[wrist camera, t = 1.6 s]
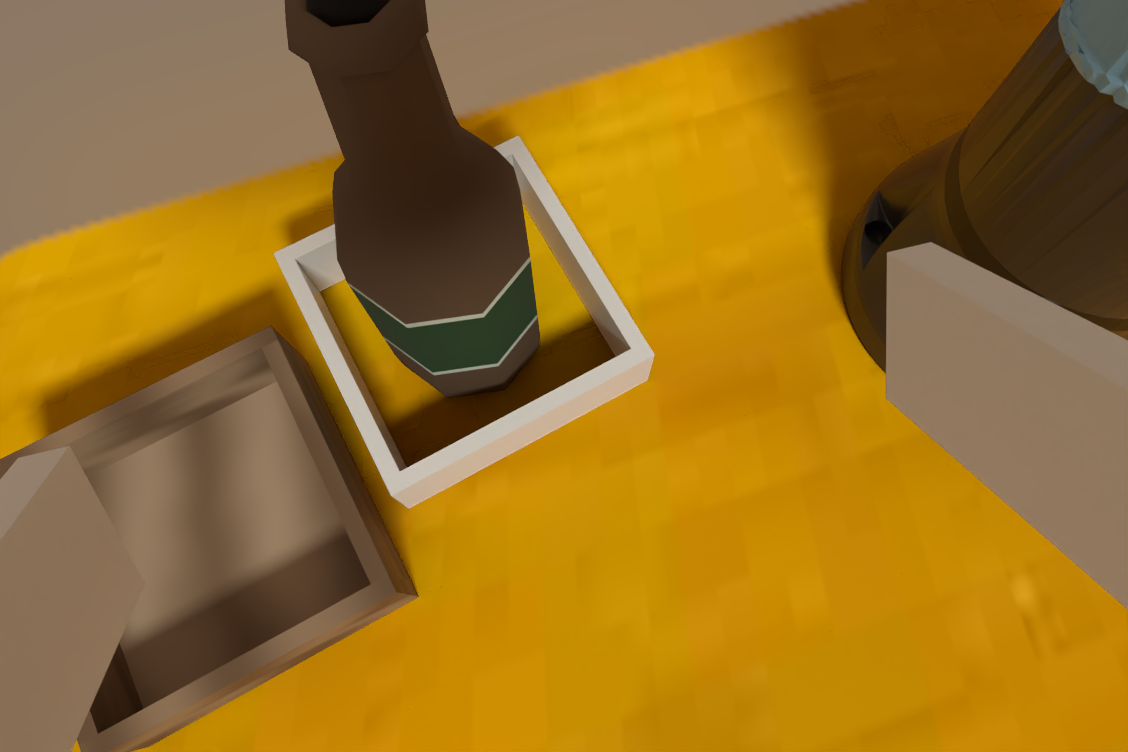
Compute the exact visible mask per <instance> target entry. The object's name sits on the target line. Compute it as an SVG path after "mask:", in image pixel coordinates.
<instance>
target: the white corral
mask: <svg viewBox="0 0 1128 752" xmlns="http://www.w3.org/2000/svg"><path fill="white" fill-rule="evenodd" d="M493 148H494V149H496V150H497V151H498V152H499V153H500V154H501V155H502V156H503V157H504V158H505V159H506V160H507V161H508V162H509V163H510V164H511V165H512V166H513V167H514V169H515V173H516V177H517V180H518V184H519V187H520V192H521V199H522V203H523V204H524V206H525V208H526V209H527V211H528V213H529V214H530V216H531V217H532V219H533V221H534V222H535V224H536V226H537V227H538V229H539V231H540V232H541V234H542V236H543V237H544V239H545V241H546V242H547V244H548V246H549V247H550V249H551V251H552V252H553V254H554V256H555V257H556V259H557V261H558V262H559V264H560V266H561V267H562V269H563V271H564V272H565V274H566V276H567V277H568V279H569V280H570V282H571V284H572V285H573V287H574V289H575V290H576V292H577V294H578V295H579V297H580V299H581V300H582V302H583V304H584V305H585V307H586V309H587V310H588V312H589V314H590V315H591V317H592V319H593V320H594V322H595V324H596V325H597V327H598V329H599V330H600V332H601V334H602V335H603V337H604V339H605V340H606V342H607V343H608V345H609V347H610V348H611V350H612V352H613V353H614V355H615V358H613V359H611V360H609V361H607V362H605V363H603V364H602V365H600V366H598V367H596V368H594V369H592V370H590V371H588V372H587V373H585V374H583V375H581V376H579V377H577V378H575V379H573V380H571V381H570V382H568V383H566V384H564V385H562V386H560V387H558V388H556V389H555V390H553V391H551V392H549V393H547V394H545V395H543V396H541V397H539V398H538V399H536V400H534V401H532V402H530V403H528V404H526V405H524V406H523V407H521V408H519V409H517V410H515V411H513V412H511V413H509V414H507V415H506V416H504V417H502V418H500V419H498V420H496V421H494V422H492V423H490V424H489V425H487V426H485V427H483V428H481V429H479V430H477V431H475V432H474V433H472V434H470V435H468V436H466V437H464V438H462V439H460V440H458V441H457V442H455V443H453V444H451V445H449V446H447V447H445V448H443V449H442V450H440V451H438V452H436V453H434V454H432V455H430V456H428V457H426V458H425V459H423V460H421V461H419V462H417V463H415V464H413V465H411V466H409V467H408V468H407V467H406V464H405V462H404V460H403V458H402V456H401V454H400V452H399V450H398V448H397V446H396V444H395V442H394V440H393V438H392V436H391V434H390V432H389V430H388V428H387V426H386V424H385V422H384V420H383V418H382V416H381V414H380V412H379V410H378V408H377V406H376V404H375V402H374V400H373V398H372V396H371V394H370V392H369V390H368V388H367V386H366V384H365V382H364V380H363V378H362V376H361V374H360V372H359V370H358V368H357V366H356V364H355V362H354V360H353V358H352V356H351V354H350V352H349V350H348V348H347V346H346V344H345V342H344V340H343V338H342V336H341V334H340V332H339V330H338V328H337V326H336V324H335V322H334V320H333V318H332V316H331V314H330V312H329V310H328V308H327V306H326V304H325V302H324V300H323V298H322V296H321V294H320V291H322V290H324V289H326V288H328V287H330V286H332V285H334V284H336V283H338V282H340V281H342V280H344V279H345V276H344V274H343V272H342V270H341V267H340V265H339V263H338V261H337V251H336V236H335V224H333V225H331V226H329V227H327V228H325V229H323V230H321V231H319V232H317V233H315V234H312V235H310V236H308V237H306V238H304V239H302V240H300V241H298V242H296V243H294V244H292V245H290V246H287V247H285V248H283V249H281V250H279V251H277V252H275V253H273V254H274V256H275V258H276V260H277V262H278V264H279V266H280V268H281V270H282V272H283V274H284V276H285V278H286V280H287V282H288V285H289V287H290V289H291V291H292V293H293V295H294V297H295V299H296V301H297V303H298V305H299V307H300V309H301V311H302V313H303V315H304V317H305V320H306V322H307V324H308V326H309V328H310V330H311V332H312V334H313V336H314V338H315V340H316V342H317V344H318V346H319V348H320V350H321V352H322V355H323V357H324V359H325V361H326V363H327V365H328V367H329V369H330V371H331V373H332V375H333V377H334V379H335V381H336V383H337V385H338V387H339V390H340V392H341V394H342V396H343V398H344V400H345V402H346V404H347V406H348V408H349V410H350V412H351V414H352V416H353V418H354V420H355V422H356V425H357V427H358V429H359V431H360V433H361V435H362V437H363V439H364V441H365V443H366V445H367V447H368V449H369V451H370V453H371V455H372V457H373V460H374V462H375V464H376V466H377V468H378V470H379V472H380V474H381V476H382V478H383V480H384V482H385V484H386V486H387V488H388V490H389V492H390V495H391V496H392V497H393V498H395V499H396V500H398V501H399V502H400V503H402V504H403V505H404V506H406V507H407V508H411V507H413V506H415V505H417V504H419V503H421V502H422V501H424V500H426V499H428V498H430V497H432V496H434V495H435V494H437V493H439V492H441V491H443V490H445V489H447V488H448V487H450V486H452V485H454V484H456V483H458V482H460V481H461V480H463V479H465V478H467V477H469V476H471V475H473V474H474V473H476V472H478V471H480V470H482V469H484V468H486V467H487V466H489V465H491V464H493V463H495V462H497V461H499V460H500V459H502V458H504V457H506V456H508V455H510V454H512V453H513V452H515V451H517V450H519V449H521V448H523V447H525V446H526V445H528V444H530V443H532V442H534V441H536V440H538V439H539V438H541V437H543V436H545V435H547V434H549V433H551V432H552V431H554V430H556V429H558V428H560V427H562V426H564V425H565V424H567V423H569V422H571V421H573V420H575V419H577V418H578V417H580V416H582V415H584V414H586V413H588V412H590V411H591V410H593V409H595V408H597V407H599V406H601V405H603V404H604V403H606V402H608V401H610V400H612V399H614V398H616V397H617V396H619V395H621V394H623V393H625V392H627V391H629V390H630V389H632V388H634V387H636V386H638V385H640V384H642V383H643V382H645V381H647V380H648V377H649V373H650V370H651V366H652V363H653V359H654V356H655V355H654V353H653V352H652V350H651V348H650V347H649V345H648V343H647V342H646V340H645V339H644V337H643V335H642V334H641V332H640V331H639V329H638V327H637V326H636V324H635V322H634V321H633V319H632V318H631V316H630V314H629V313H628V311H627V310H626V308H625V306H624V305H623V303H622V301H621V300H620V298H619V297H618V295H617V293H616V292H615V290H614V289H613V287H612V285H611V284H610V282H609V281H608V279H607V277H606V276H605V274H604V272H603V271H602V269H601V268H600V266H599V264H598V263H597V261H596V260H595V258H594V256H593V255H592V253H591V251H590V250H589V248H588V247H587V245H586V243H585V242H584V240H583V239H582V237H581V235H580V234H579V232H578V230H577V229H576V227H575V226H574V224H573V222H572V221H571V219H570V218H569V216H568V214H567V213H566V211H565V209H564V208H563V206H562V205H561V203H560V201H559V200H558V198H557V197H556V195H555V193H554V192H553V190H552V188H551V187H550V185H549V184H548V182H547V180H546V179H545V177H544V176H543V174H542V172H541V171H540V169H539V167H538V166H537V164H536V163H535V161H534V159H533V158H532V156H531V155H530V153H529V151H528V150H527V148H526V146H525V145H524V143H523V142H522V140H521V138H520V137H519V135H518V136H516V137H514V138H512V139H510V140H508V141H506V142H504V143H502V144H500V145H498V146H496V147H493Z"/></svg>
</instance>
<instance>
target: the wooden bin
mask: <svg viewBox="0 0 1128 752" xmlns="http://www.w3.org/2000/svg"><path fill="white" fill-rule="evenodd" d="M66 446H70V447H71V449H72V451H73V453H74V455H75V456H76V458H77V460H78V462H79V464H80V466H81V467H82V469H83V471H84V473H85V475H86V477H87V478H88V480H89V482H90V484H91V486H92V487H93V489H94V491H95V493H96V495H97V497H98V498H99V500H100V502H101V504H102V506H103V507H104V509H105V511H106V513H107V515H108V517H109V518H110V520H111V522H112V524H113V526H114V528H115V529H116V531H117V533H118V535H119V537H120V538H121V540H122V542H123V544H124V546H125V548H126V549H127V551H128V553H129V555H130V557H131V559H132V560H133V562H134V564H135V566H136V568H137V569H138V571H139V573H140V575H141V577H142V579H143V580H144V582H145V584H144V587H143V589H142V591H141V594H140V596H139V598H138V600H137V603H136V605H135V607H134V609H133V612H132V614H131V616H130V619H129V621H128V623H127V625H126V628H125V630H124V632H123V635H122V637H121V639H120V641H119V644H118V646H117V648H116V651H115V653H114V655H113V657H112V660H111V662H110V664H109V667H108V669H107V671H106V673H105V676H104V678H103V680H102V683H101V685H100V687H99V689H98V692H97V694H96V696H95V698H94V701H93V703H92V705H91V708H90V710H89V712H88V714H87V717H86V719H85V721H84V724H83V726H82V728H81V730H80V733H79V735H78V737H77V741H78V744H79V747H80V750H81V752H131V751H134V750H138V749H142V748H145V747H149V746H151V745H153V744H154V743H156V742H158V741H160V740H162V739H163V738H165V737H167V736H169V735H171V734H172V733H174V732H176V731H178V730H180V729H181V728H183V727H185V726H187V725H189V724H190V723H192V722H194V721H196V720H198V719H199V718H201V717H203V716H205V715H207V714H208V713H210V712H212V711H214V710H216V709H217V708H219V707H221V706H223V705H225V704H226V703H228V702H230V701H232V700H234V699H235V698H237V697H239V696H241V695H243V694H244V693H246V692H248V691H250V690H252V689H253V688H255V687H257V686H259V685H261V684H262V683H264V682H266V681H268V680H270V679H271V678H273V677H275V676H277V675H279V674H280V673H282V672H284V671H286V670H288V669H289V668H291V667H293V666H295V665H297V664H298V663H300V662H302V661H304V660H306V659H307V658H309V657H311V656H313V655H315V654H316V653H318V652H320V651H322V650H324V649H325V648H327V647H329V646H331V645H333V644H335V643H336V642H338V641H340V640H342V639H344V638H345V637H347V636H349V635H351V634H353V633H354V632H356V631H358V630H360V629H362V628H363V627H365V626H367V625H369V624H371V623H372V622H374V621H376V620H378V619H380V618H381V617H383V616H385V615H387V614H389V613H390V612H392V611H394V610H396V609H398V608H399V607H401V606H403V605H405V604H407V603H408V602H410V601H412V600H414V599H416V598H417V597H418V594H417V592H416V590H415V588H414V586H413V584H412V582H411V580H410V578H409V576H408V574H407V571H406V569H405V567H404V565H403V563H402V561H401V559H400V557H399V555H398V553H397V551H396V548H395V546H394V544H393V542H392V540H391V538H390V536H389V534H388V532H387V530H386V528H385V525H384V523H383V521H382V519H381V517H380V515H379V513H378V511H377V509H376V507H375V504H374V502H373V500H372V498H371V496H370V494H369V492H368V490H367V488H366V486H365V484H364V481H363V479H362V477H361V475H360V473H359V471H358V469H357V467H356V465H355V463H354V461H353V458H352V456H351V454H350V452H349V450H348V448H347V446H346V444H345V442H344V440H343V438H342V435H341V433H340V431H339V429H338V427H337V425H336V423H335V421H334V419H333V417H332V414H331V412H330V410H329V408H328V406H327V404H326V402H325V400H324V398H323V396H322V394H321V391H320V389H319V387H318V385H317V383H316V381H315V379H314V377H313V375H312V373H311V371H310V368H309V366H308V364H307V362H306V360H305V359H304V358H303V357H302V356H301V355H300V354H299V353H298V352H297V351H296V350H295V349H294V348H293V347H292V346H291V345H290V344H289V343H288V342H287V341H286V340H285V339H284V338H283V337H282V336H281V335H280V334H279V333H278V332H277V331H276V330H275V329H274V328H273V327H272V326H269V327H267V328H265V329H263V330H261V331H259V332H257V333H255V334H253V335H251V336H249V337H247V338H245V339H243V340H241V341H239V342H237V343H235V344H233V345H231V346H229V347H227V348H225V349H223V350H221V351H219V352H217V353H215V354H213V355H211V356H209V357H207V358H205V359H202V360H200V361H198V362H196V363H194V364H192V365H190V366H188V367H186V368H184V369H182V370H180V371H178V372H176V373H174V374H172V375H170V376H168V377H166V378H164V379H162V380H160V381H158V382H156V383H154V384H152V385H150V386H148V387H146V388H144V389H142V390H140V391H138V392H136V393H134V394H132V395H129V396H127V397H125V398H123V399H121V400H119V401H117V402H115V403H113V404H111V405H109V406H107V407H105V408H103V409H101V410H99V411H97V412H95V413H93V414H91V415H89V416H87V417H85V418H83V419H81V420H79V421H77V422H75V423H73V424H71V425H69V426H67V427H65V428H63V429H61V430H59V431H56V432H54V433H52V434H50V435H48V436H46V437H44V438H42V439H40V440H38V441H36V442H34V443H32V444H30V445H28V446H26V447H24V448H22V449H20V450H18V451H16V452H14V453H12V454H10V455H8V456H6V457H4V458H2V459H0V479H1V478H2V477H3V476H4V474H5V473H6V472H7V471H8V470H9V468H10V467H11V466H12V465H13V463H14V462H15V461H16V460H17V459H18V458H20V457H24V456H28V455H33V454H37V453H41V452H45V451H49V450H54V449H58V448H62V447H66Z"/></svg>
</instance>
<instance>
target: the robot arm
mask: <svg viewBox="0 0 1128 752" xmlns="http://www.w3.org/2000/svg"><path fill="white" fill-rule="evenodd" d="M842 287H843V294H844V299H845V303H846V307H847V310H848V314H849V316H850V319H851V321H852V324H853V326H854V328H855V330H856V332H857V334H858V336H859V338H860V340H861V341H862V343H863V345H864V346H865V348H866V349H867V351H868V352H869V353H870V355H871V356H872V357H873V359H874V360H875V361H876V362H877V363H878V365H879V366H880V367H881V368H882V369H883V370H884V371H885V372H886V399H888V400H889V401H890V402H891V403H892V404H893V405H895V406H896V407H897V408H898V409H899V410H900V411H901V412H903V413H904V414H905V415H906V416H907V417H908V418H909V419H911V420H912V421H913V422H914V423H915V424H916V425H917V426H919V427H920V428H921V429H922V430H923V431H924V432H925V433H927V434H928V435H929V436H930V437H931V438H932V439H933V440H935V441H936V442H937V443H938V444H939V445H940V446H941V447H943V448H944V449H945V450H946V451H947V452H948V453H949V454H951V455H952V456H953V457H954V458H955V459H956V460H957V461H959V462H960V463H961V464H962V465H963V466H964V467H965V468H967V469H968V470H969V471H970V472H971V473H972V474H973V475H975V476H976V477H977V478H978V479H979V480H980V481H981V482H983V483H984V484H985V485H986V486H987V487H988V488H989V489H991V490H992V491H993V492H994V493H995V494H996V495H997V496H999V497H1000V498H1001V499H1002V500H1003V501H1004V502H1005V503H1007V504H1008V505H1009V506H1010V507H1011V508H1012V509H1013V510H1015V511H1016V512H1017V513H1018V514H1019V515H1020V516H1021V517H1023V518H1024V519H1025V520H1026V521H1027V522H1028V523H1029V524H1031V525H1032V526H1033V527H1034V528H1035V529H1036V530H1037V531H1039V532H1040V533H1041V534H1042V535H1043V536H1044V537H1045V538H1047V539H1048V540H1049V541H1050V542H1051V543H1052V544H1053V545H1055V546H1056V547H1057V548H1058V549H1059V550H1060V551H1061V552H1063V553H1064V554H1065V555H1066V556H1067V557H1068V558H1069V559H1071V560H1072V561H1073V562H1074V563H1075V564H1076V565H1077V566H1079V567H1080V568H1081V569H1082V570H1083V571H1084V572H1085V573H1087V574H1088V575H1089V576H1090V577H1091V578H1092V579H1093V580H1095V581H1096V582H1097V583H1098V584H1099V585H1100V586H1101V587H1103V588H1104V589H1105V590H1106V591H1107V592H1108V593H1109V594H1111V595H1112V596H1113V597H1114V598H1115V599H1116V600H1117V601H1119V602H1120V603H1121V604H1122V605H1123V606H1124V607H1125V608H1127V609H1128V0H1064V1H1063V3H1062V5H1061V7H1060V9H1059V10H1058V11H1057V12H1056V14H1055V15H1054V16H1053V18H1052V19H1051V20H1050V22H1049V23H1048V24H1047V25H1046V27H1045V28H1044V29H1043V31H1042V32H1041V33H1040V35H1039V36H1038V37H1037V38H1036V40H1035V41H1034V42H1033V44H1032V45H1031V46H1030V48H1029V49H1028V50H1027V51H1026V53H1025V54H1024V55H1023V57H1022V58H1021V59H1020V60H1019V62H1018V63H1017V64H1016V66H1015V67H1014V68H1013V70H1012V71H1011V72H1010V73H1009V75H1008V76H1007V77H1006V78H1005V80H1004V81H1003V82H1002V83H1001V85H1000V86H999V87H998V88H997V90H996V91H995V92H994V93H993V95H992V96H991V97H990V98H989V100H988V101H987V102H986V103H985V105H984V106H983V107H982V108H981V110H980V111H979V112H978V113H977V115H976V116H975V118H974V119H973V120H972V122H971V123H970V124H969V125H968V127H967V128H965V129H963V130H961V131H960V132H958V133H956V134H954V135H952V136H950V137H949V138H947V139H945V140H943V141H941V142H939V143H937V144H936V145H934V146H932V147H930V148H928V149H926V150H925V151H923V152H921V153H919V154H917V155H915V156H914V157H912V158H910V159H909V160H907V161H906V162H904V163H903V164H901V165H900V166H899V167H898V168H896V169H895V170H894V171H893V172H892V173H891V174H889V175H888V176H887V177H886V178H885V179H884V180H883V181H882V182H881V184H880V185H879V186H878V187H877V188H876V190H875V191H874V192H873V194H872V195H871V196H870V198H869V199H868V201H867V202H866V204H865V205H864V207H863V208H862V210H861V211H860V213H859V214H858V216H857V218H856V219H855V221H854V223H853V225H852V227H851V229H850V232H849V234H848V237H847V240H846V244H845V248H844V253H843V259H842ZM144 584H145V582H144V580H143V579H142V577H141V575H140V573H139V571H138V569H137V568H136V566H135V564H134V562H133V560H132V559H131V557H130V555H129V553H128V551H127V549H126V548H125V546H124V544H123V542H122V540H121V538H120V537H119V535H118V533H117V531H116V529H115V528H114V526H113V524H112V522H111V520H110V518H109V517H108V515H107V513H106V511H105V509H104V507H103V506H102V504H101V502H100V500H99V498H98V497H97V495H96V493H95V491H94V489H93V487H92V486H91V484H90V482H89V480H88V478H87V477H86V475H85V473H84V471H83V469H82V467H81V466H80V464H79V462H78V460H77V458H76V456H75V455H74V453H73V451H72V449H71V447H70V446H66V447H62V448H58V449H54V450H49V451H45V452H41V453H37V454H33V455H28V456H24V457H20V458H18V459H17V460H16V461H15V462H14V463H13V465H12V466H11V467H10V468H9V470H8V471H7V472H6V473H5V474H4V476H3V477H2V478H1V479H0V752H71V751H72V749H73V746H74V744H75V742H76V740H77V737H78V735H79V733H80V730H81V728H82V726H83V724H84V721H85V719H86V717H87V714H88V712H89V710H90V708H91V705H92V703H93V701H94V698H95V696H96V694H97V692H98V689H99V687H100V685H101V683H102V680H103V678H104V676H105V673H106V671H107V669H108V667H109V664H110V662H111V660H112V657H113V655H114V653H115V651H116V648H117V646H118V644H119V641H120V639H121V637H122V635H123V632H124V630H125V628H126V625H127V623H128V621H129V619H130V616H131V614H132V612H133V609H134V607H135V605H136V603H137V600H138V598H139V596H140V594H141V591H142V589H143V587H144Z"/></svg>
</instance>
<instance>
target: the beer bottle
mask: <svg viewBox="0 0 1128 752" xmlns="http://www.w3.org/2000/svg"><path fill="white" fill-rule="evenodd" d="M285 13H286V27H287V37H288V47H289V50H290V51H291V52H293V53H294V54H296V55H297V56H299V57H301V58H302V59H304V60H305V61H307V62H308V63H309V65H310V68H311V70H312V73H313V76H314V78H315V81H316V84H317V86H318V89H319V91H320V94H321V97H322V100H323V102H324V105H325V108H326V110H327V113H328V116H329V118H330V121H331V124H332V126H333V129H334V132H335V134H336V137H337V140H338V142H339V145H340V148H341V150H342V153H343V156H344V158H345V160H344V162H343V163H342V164H341V165H340V166H339V168H338V169H337V170H336V171H335V172H334V182H333V191H332V192H333V207H334V222H335V236H336V251H337V261H338V263H339V265H340V267H341V270H342V272H343V274H344V276H345V279H346V281H347V283H348V284H349V286H350V287H351V289H352V290H353V292H354V293H355V295H356V296H357V298H358V299H359V301H360V302H361V304H362V305H363V307H364V308H365V310H366V311H367V313H368V314H369V316H370V318H371V319H372V321H373V322H374V324H375V325H376V327H377V328H378V330H379V331H380V333H381V334H382V336H383V337H384V339H385V340H386V342H387V343H388V345H389V346H390V348H391V349H392V351H393V352H394V354H395V355H396V356H397V358H398V359H399V360H400V361H401V362H402V363H403V364H404V365H405V366H406V367H407V368H409V369H410V370H411V371H413V372H414V373H416V374H417V375H418V376H420V377H421V378H422V379H424V380H425V381H426V382H428V383H429V384H430V385H432V386H433V387H434V388H436V389H437V390H439V391H440V392H441V393H443V394H444V395H445V396H447V397H448V398H449V397H456V396H463V395H470V394H477V393H484V392H491V391H498V390H505V389H506V387H507V386H508V385H509V384H510V382H511V381H512V380H513V379H514V377H515V376H516V375H517V374H518V372H519V371H520V370H521V369H522V367H523V366H524V365H525V364H526V362H527V361H528V360H529V359H530V357H531V356H532V355H533V353H534V352H535V351H536V350H537V348H538V347H539V341H540V333H539V325H538V317H537V309H536V301H535V293H534V285H533V277H532V269H531V261H530V253H529V247H528V240H527V233H526V226H525V219H524V213H523V206H522V199H521V192H520V187H519V184H518V180H517V177H516V173H515V169H514V167H513V166H512V165H511V164H510V163H509V162H508V161H507V160H506V159H505V158H504V157H503V156H502V155H501V154H500V153H499V152H498V151H497V150H496V149H494V148H493V147H491V146H490V145H488V144H487V143H485V142H484V141H482V140H481V139H479V138H478V137H476V136H475V135H473V134H471V133H470V132H468V131H467V130H465V129H464V128H462V127H461V126H460V125H459V123H458V121H457V120H456V118H455V116H454V115H453V112H452V109H451V106H450V103H449V101H448V97H447V94H446V91H445V89H444V86H443V83H442V80H441V77H440V74H439V71H438V68H437V65H436V63H435V59H434V57H433V54H432V51H431V48H430V45H429V42H428V39H427V36H426V33H427V32H428V24H427V14H426V6H425V0H285Z"/></svg>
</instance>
